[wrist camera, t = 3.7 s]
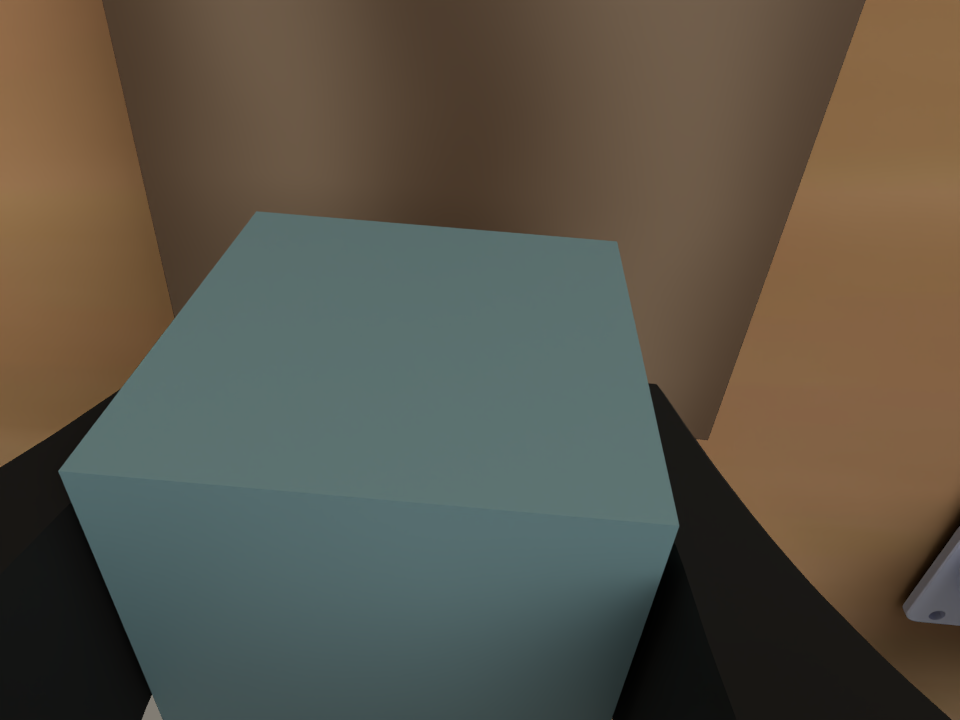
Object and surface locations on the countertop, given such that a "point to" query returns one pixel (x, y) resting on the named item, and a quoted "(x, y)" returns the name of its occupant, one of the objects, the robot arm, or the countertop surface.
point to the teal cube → (385, 480)
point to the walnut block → (498, 136)
